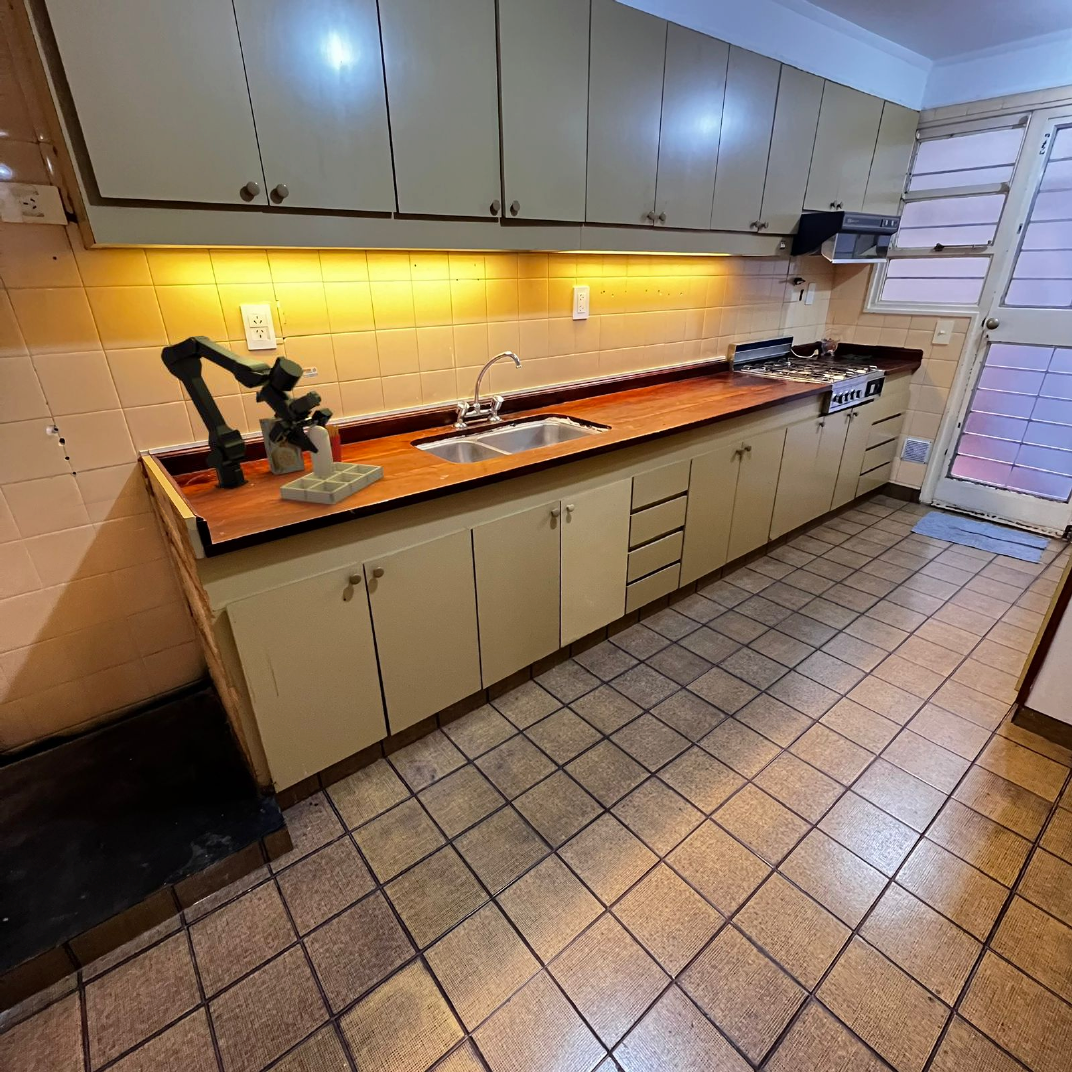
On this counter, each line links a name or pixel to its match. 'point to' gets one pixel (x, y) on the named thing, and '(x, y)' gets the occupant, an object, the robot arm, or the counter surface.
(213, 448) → the robot arm
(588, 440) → the counter surface
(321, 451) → the white rounded cylinder
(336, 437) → the french fries
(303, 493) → the divided tray
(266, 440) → the coffee box
